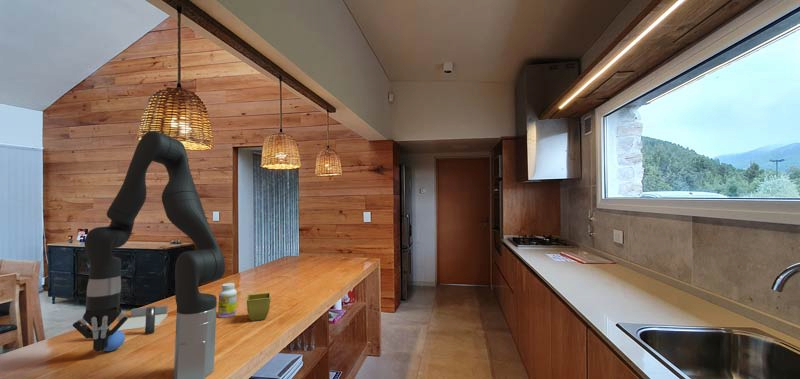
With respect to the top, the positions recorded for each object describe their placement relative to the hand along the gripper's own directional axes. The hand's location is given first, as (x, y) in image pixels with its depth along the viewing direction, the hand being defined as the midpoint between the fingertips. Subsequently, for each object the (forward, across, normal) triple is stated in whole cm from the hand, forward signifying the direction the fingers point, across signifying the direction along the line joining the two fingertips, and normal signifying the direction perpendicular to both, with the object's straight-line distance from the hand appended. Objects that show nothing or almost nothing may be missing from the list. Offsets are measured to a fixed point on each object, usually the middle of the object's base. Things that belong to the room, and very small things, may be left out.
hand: (100, 350), depth 94 cm
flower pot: (+2, +44, +15) cm, 46 cm away
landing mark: (+2, +2, +30) cm, 30 cm away
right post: (+2, +8, +16) cm, 18 cm away
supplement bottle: (+2, +32, +25) cm, 41 cm away
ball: (-1, +2, +4) cm, 4 cm away
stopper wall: (+2, +3, +39) cm, 39 cm away
